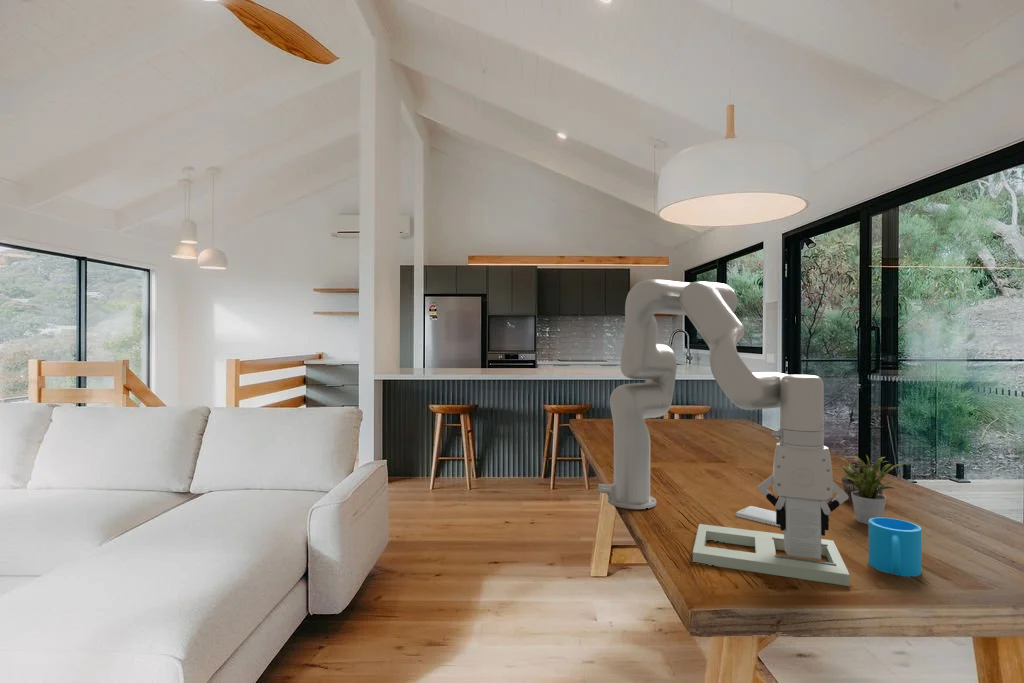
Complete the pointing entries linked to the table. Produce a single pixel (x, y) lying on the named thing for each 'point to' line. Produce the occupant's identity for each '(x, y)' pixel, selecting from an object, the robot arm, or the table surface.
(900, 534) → the mug
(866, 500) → the house plant
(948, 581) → the table surface
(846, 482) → the cupcake
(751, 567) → the socket board
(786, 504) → the skincare box
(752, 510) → the hard drive
